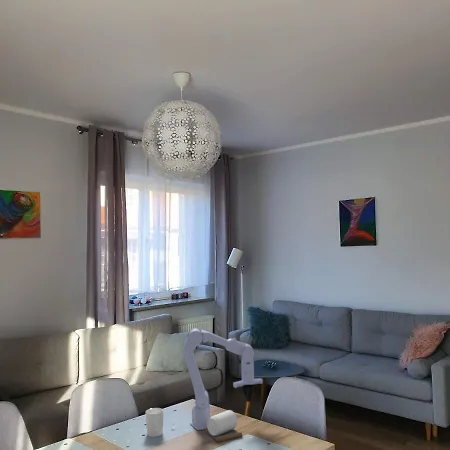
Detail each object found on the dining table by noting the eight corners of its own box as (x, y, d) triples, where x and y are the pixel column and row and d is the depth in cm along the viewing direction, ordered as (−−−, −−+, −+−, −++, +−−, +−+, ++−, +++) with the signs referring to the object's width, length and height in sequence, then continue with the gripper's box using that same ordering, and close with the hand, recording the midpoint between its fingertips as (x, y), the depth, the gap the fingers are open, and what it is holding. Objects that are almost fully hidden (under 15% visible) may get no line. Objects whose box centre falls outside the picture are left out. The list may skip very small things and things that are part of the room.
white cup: (167, 432, 205) (166, 409, 206) (157, 438, 198) (157, 414, 198) (152, 429, 208) (152, 407, 209) (142, 436, 201) (141, 412, 202)
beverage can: (238, 412, 204) (219, 419, 195) (238, 430, 203) (219, 439, 195) (225, 407, 209) (205, 415, 201) (225, 425, 209) (206, 433, 200)
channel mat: (205, 431, 204) (205, 427, 204) (228, 426, 209) (228, 422, 210) (217, 442, 193) (217, 437, 193) (242, 436, 198) (242, 432, 198)
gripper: (237, 375, 207) (238, 406, 206) (265, 371, 213) (266, 400, 213) (230, 371, 213) (231, 401, 213) (258, 367, 220) (258, 396, 219)
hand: (248, 401), depth 213 cm, fingers closed
